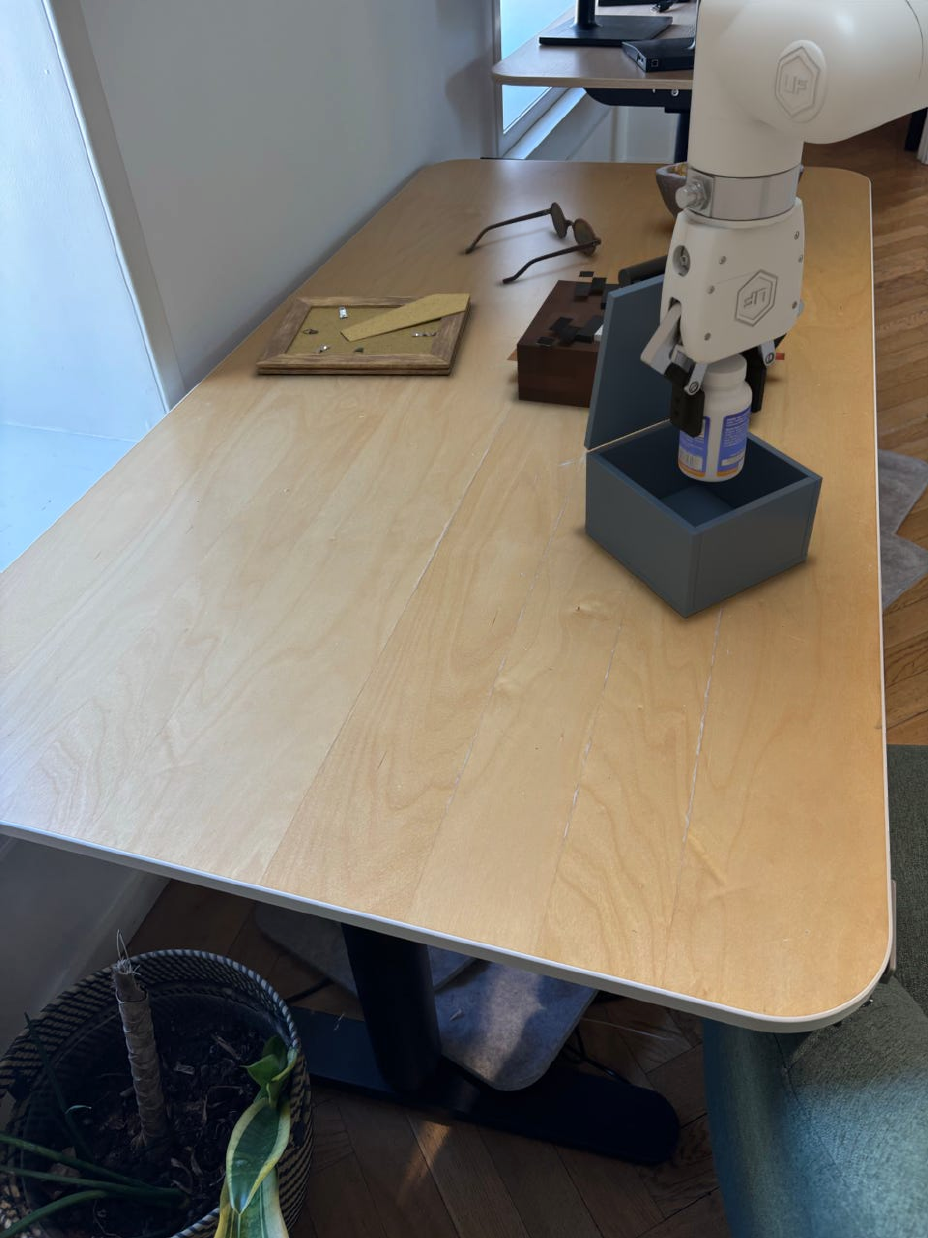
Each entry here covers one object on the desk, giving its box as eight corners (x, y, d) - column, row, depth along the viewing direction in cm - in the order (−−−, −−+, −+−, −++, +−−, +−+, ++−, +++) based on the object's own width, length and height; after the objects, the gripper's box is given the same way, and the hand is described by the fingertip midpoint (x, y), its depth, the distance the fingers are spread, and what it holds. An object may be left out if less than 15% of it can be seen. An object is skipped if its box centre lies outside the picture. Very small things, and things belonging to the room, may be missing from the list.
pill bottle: (740, 449, 85) (755, 344, 79) (744, 485, 81) (760, 377, 75) (676, 447, 86) (685, 344, 79) (677, 483, 82) (686, 377, 76)
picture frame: (470, 306, 131) (298, 307, 134) (470, 293, 130) (295, 294, 133) (449, 376, 117) (258, 375, 121) (448, 362, 116) (255, 361, 120)
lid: (753, 250, 79) (713, 220, 82) (614, 297, 75) (577, 264, 77) (710, 402, 91) (676, 372, 94) (588, 450, 87) (556, 417, 89)
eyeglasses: (601, 261, 139) (601, 225, 135) (506, 286, 135) (504, 250, 131) (551, 228, 149) (550, 194, 145) (461, 251, 145) (459, 216, 141)
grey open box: (806, 560, 88) (823, 477, 82) (684, 618, 83) (693, 535, 77) (698, 483, 98) (706, 404, 92) (584, 532, 93) (585, 452, 87)
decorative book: (778, 367, 98) (491, 340, 107) (768, 433, 103) (495, 402, 112) (799, 285, 111) (542, 267, 120) (789, 348, 116) (543, 325, 125)
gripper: (676, 234, 63) (659, 473, 75) (873, 172, 69) (828, 403, 81) (606, 202, 68) (601, 431, 80) (795, 146, 74) (763, 368, 86)
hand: (715, 415), depth 80 cm, fingers closed on pill bottle, 5 cm apart
